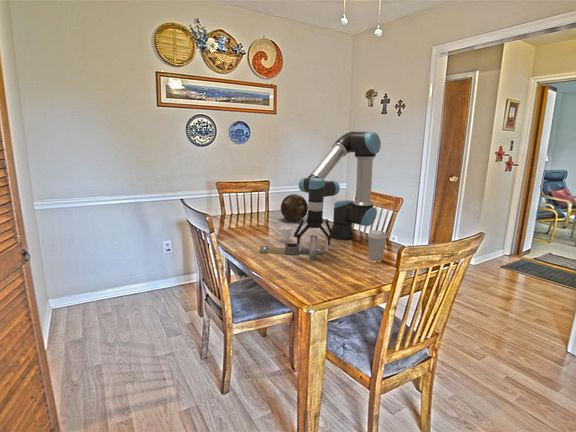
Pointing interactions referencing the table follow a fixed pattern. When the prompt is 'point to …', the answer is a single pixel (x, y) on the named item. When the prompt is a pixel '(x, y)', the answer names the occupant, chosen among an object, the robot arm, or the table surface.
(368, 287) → the table surface
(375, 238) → the coffee cup
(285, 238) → the cup
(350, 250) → the table surface
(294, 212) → the decorative sphere
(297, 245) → the grey knobbed bar
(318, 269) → the table surface
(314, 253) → the link pin
